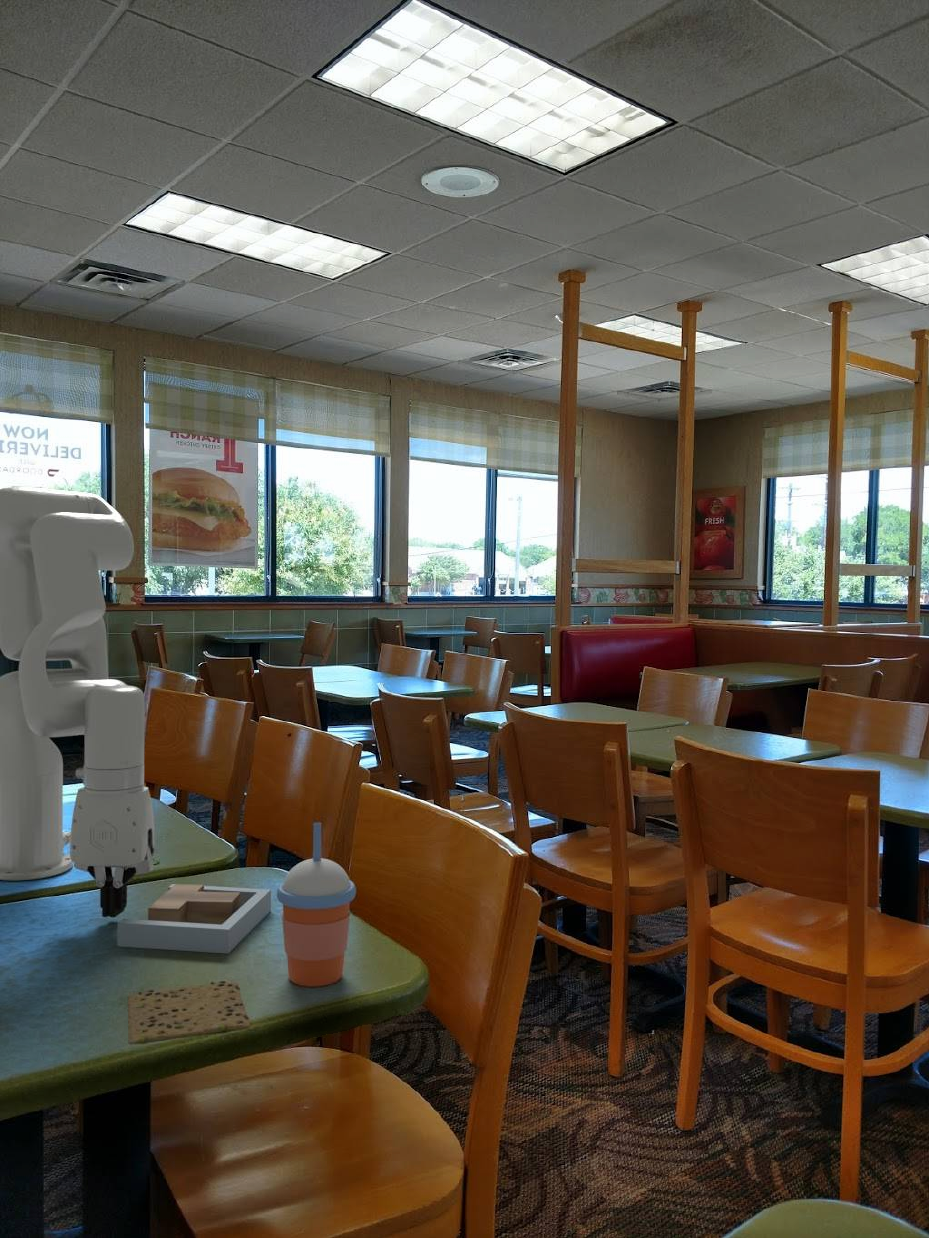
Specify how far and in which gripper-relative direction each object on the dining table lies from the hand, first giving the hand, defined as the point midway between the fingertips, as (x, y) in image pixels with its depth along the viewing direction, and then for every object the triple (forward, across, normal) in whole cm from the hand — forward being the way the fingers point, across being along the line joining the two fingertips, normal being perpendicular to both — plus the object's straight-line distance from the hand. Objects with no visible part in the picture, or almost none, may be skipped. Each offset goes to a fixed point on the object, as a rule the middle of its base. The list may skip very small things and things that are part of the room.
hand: (113, 913), depth 128 cm
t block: (+1, +12, 0) cm, 12 cm away
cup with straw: (+1, +32, -13) cm, 34 cm away
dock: (+1, +12, 0) cm, 12 cm away
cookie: (+2, +21, -24) cm, 32 cm away
